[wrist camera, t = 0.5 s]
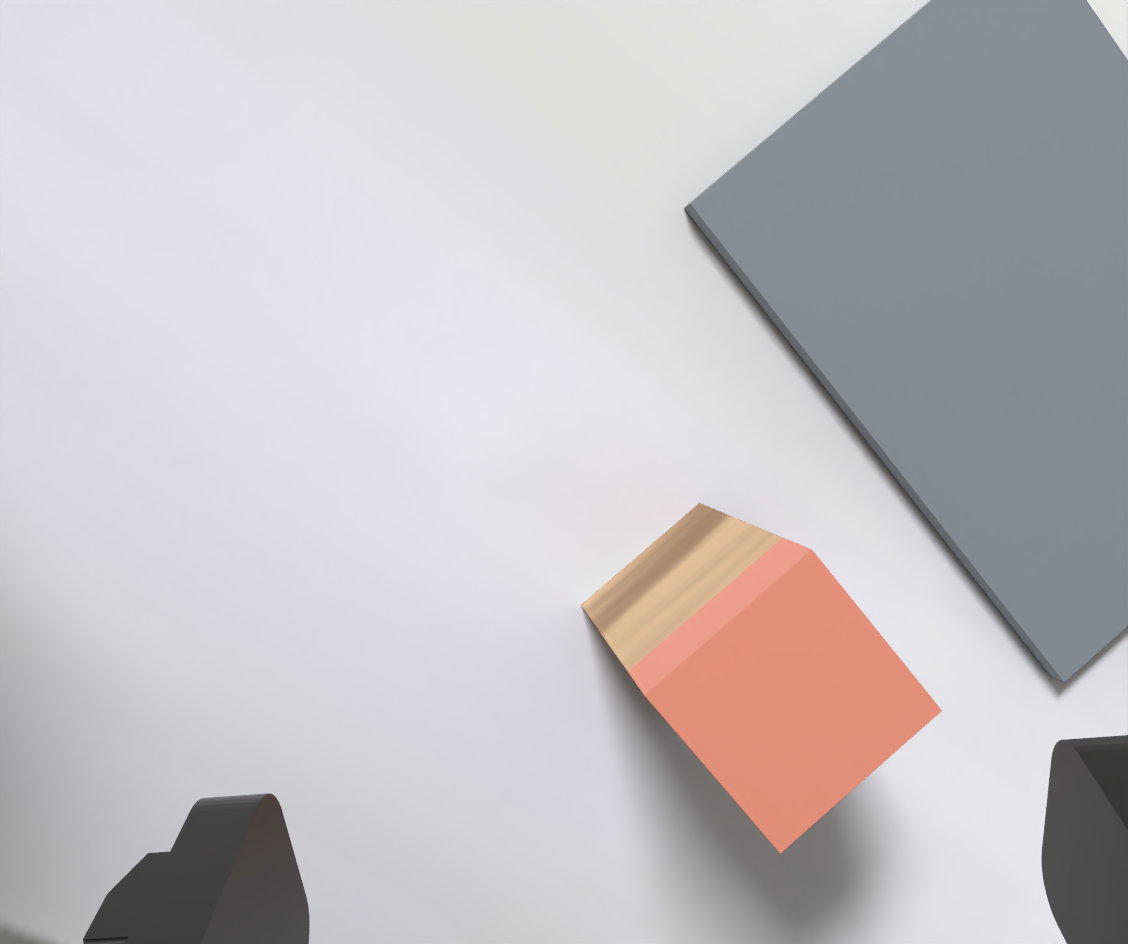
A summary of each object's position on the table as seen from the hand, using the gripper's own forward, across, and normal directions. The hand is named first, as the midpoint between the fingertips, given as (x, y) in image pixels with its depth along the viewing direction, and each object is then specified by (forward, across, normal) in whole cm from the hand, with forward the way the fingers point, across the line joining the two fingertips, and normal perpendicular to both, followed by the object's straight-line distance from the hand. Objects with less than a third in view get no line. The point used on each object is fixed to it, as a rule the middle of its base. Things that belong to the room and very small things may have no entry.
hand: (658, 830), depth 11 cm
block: (+20, -2, +10) cm, 23 cm away
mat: (+25, -14, +3) cm, 29 cm away
